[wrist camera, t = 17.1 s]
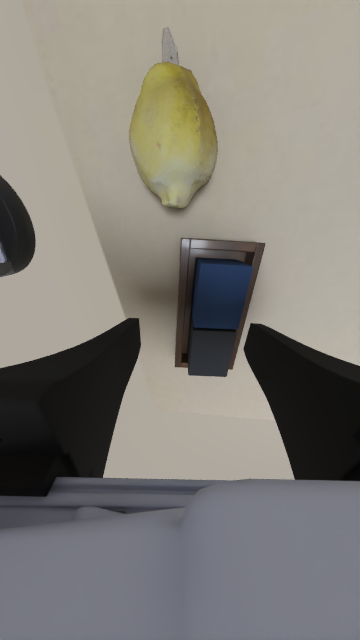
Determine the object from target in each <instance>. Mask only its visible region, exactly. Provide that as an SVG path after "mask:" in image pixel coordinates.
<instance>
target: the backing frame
mask: <svg viewBox="0 0 360 640" xmlns="http://www.w3.org/2000/svg"><path fill="white" fill-rule="evenodd" d="M264 247H265V243H257V242H241V241H225V240H208V239H192V238H181V255H180V274H179V294H178V313H177V332H176V352H175V367H185V368H188V357H187V348H188V337H189V326H190V315H191V305H192V294H193V283H194V272H195V261H196V257H200V258H217V259H234V260H239V261H241V262H244V263H246V264H249V265H251V266H253V271H252V275H251V279H250V283H249V287H248V291H247V296H246V300H245V304H244V308H243V312H242V316H241V320H240V324H239V328H238V330H236V331H237V336H236V340H235V344H234V348H233V352H232V356H231V360H230V364H229V368H228V369H233V365H234V361H235V358H236V354H237V350H238V346H239V342H240V339H241V335H242V331H243V327H244V323H245V319H246V316H247V312H248V308H249V304H250V300H251V297H252V293H253V289H254V285H255V281H256V277H257V274H258V270H259V266H260V262H261V258H262V255H263V251H264Z"/></svg>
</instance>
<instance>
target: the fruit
mask: <svg viewBox="0 0 360 640" xmlns="http://www.w3.org/2000/svg"><path fill="white" fill-rule="evenodd" d="M162 62H163V63H157V64H156V65H154V66H153V67H152V68H151V69H150V70H149V71H148V73H147V75H146V77H145V78H144V81H143V84H142V88H141V92H140V95H139V97H138V99H137V102H136V106H135V109H134V113H133V117H132V121H131V125H130V130H129V140H130V147H131V152H132V156H133V159H134V162H135V165H136V167H137V170H138V173H139V175H140V177H141V179H142V180H143V182H144V183H145V185H146V186H147V187H148V188H149V189H150V190H151V191H152V192H153V193H155V194H156V195H158V196H159V197H160V198H161V200H162V205H165V206H168V207H178V208H184V207H186V206H187V205H188V204H189V202H190V200H191V199H192V197H193V195H194V194H195V192H196V191H197V190H198V189H199V188H200V187H201V186H202V185H204V184H207V182H208V181H209V180H210V178H211V175H212V173H213V171H214V167H215V164H216V160H217V151H218V146H217V136H216V131H215V126H214V121H213V118H212V115H211V113H210V110H209V107H208V105H207V103H206V101H205V99H204V98H203V96H202V95H201V92H200V89H199V86H198V83H197V81H196V79H195V77H194V76H193V74H192V72H191V70H188V69H186V68H184V67H182V66H179V61H178V52H177V48H176V45H175V43H174V41H173V38H172V35H171V33H170V30H169V27H166V28H164V29H163V38H162Z"/></svg>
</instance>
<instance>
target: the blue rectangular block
mask: <svg viewBox="0 0 360 640" xmlns="http://www.w3.org/2000/svg"><path fill="white" fill-rule="evenodd" d="M252 271H253V266H251V265H249V264H246V263H244V262H241V261H239V260H234V259H217V258H200V257H196V261H195V272H194V283H193V294H192V305H191V312H192V319H193V326H194V327H195V328H215V329H236V330H238V328H239V324H240V320H241V316H242V312H243V308H244V304H245V300H246V296H247V291H248V287H249V283H250V279H251V275H252Z"/></svg>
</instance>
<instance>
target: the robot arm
mask: <svg viewBox="0 0 360 640" xmlns="http://www.w3.org/2000/svg"><path fill="white" fill-rule="evenodd" d="M5 262H7V256H6V254H5V251H4V249H3V246H2V244H1V241H0V263H5ZM140 346H141V341H140V326H139V318H128V319H126V320H125V321H123V322H121V323H120V324H118V325H116V326H115V327H113V328H111V329H110V330H108V331H106V332H104V333H102V334H101V335H99V336H97V337H95V338H93V339H91V340H89V341H87V342H84V343H82V344H80V345H77V346H75V347H73V348H70V349H67V350H64V351H61V352H58V353H56V354H53V355H50V356H46V357H43V358H40V359H36V360H33V361H29V362H25V363H22V364H17V365H13V366H8V367H4V368H0V640H360V366H358V365H355V364H352V363H349V362H346V361H343V360H340V359H337V358H335V357H332V356H330V355H327V354H325V353H322V352H319V351H317V350H315V349H312V348H310V347H308V346H306V345H304V344H301V343H299V342H297V341H295V340H293V339H291V338H289V337H287V336H285V335H283V334H281V333H279V332H277V331H275V330H273V329H271V328H269V327H267V326H265V325H262V324H253V323H251V324H250V328H249V331H248V335H247V338H246V342H245V346H244V352H245V355H246V358H247V361H248V363H249V365H250V367H251V369H252V371H253V373H254V375H255V377H256V379H257V381H258V382H259V384H260V386H261V388H262V390H263V392H264V394H265V396H266V398H267V400H268V403H269V405H270V408H271V410H272V413H273V415H274V418H275V420H276V423H277V426H278V428H279V431H280V434H281V437H282V440H283V443H284V446H285V449H286V452H287V455H288V458H289V461H290V464H291V468H292V471H293V475H294V478H295V480H279V479H244V480H233V481H226V480H178V479H128V478H125V479H123V478H103V474H104V470H105V465H106V461H107V456H108V452H109V448H110V443H111V440H112V435H113V431H114V428H115V424H116V420H117V416H118V412H119V409H120V405H121V402H122V398H123V395H124V392H125V389H126V386H127V384H128V381H129V379H130V376H131V374H132V371H133V369H134V366H135V364H136V361H137V359H138V355H139V351H140Z"/></svg>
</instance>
